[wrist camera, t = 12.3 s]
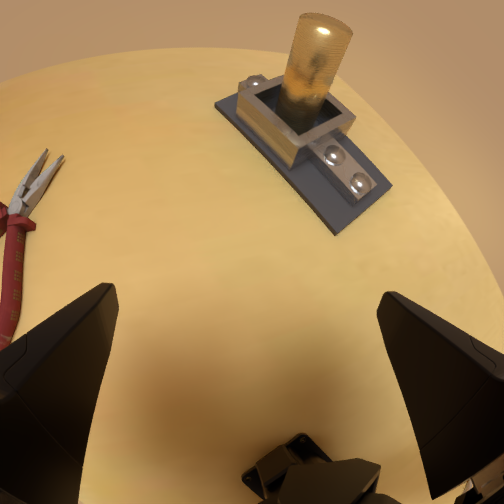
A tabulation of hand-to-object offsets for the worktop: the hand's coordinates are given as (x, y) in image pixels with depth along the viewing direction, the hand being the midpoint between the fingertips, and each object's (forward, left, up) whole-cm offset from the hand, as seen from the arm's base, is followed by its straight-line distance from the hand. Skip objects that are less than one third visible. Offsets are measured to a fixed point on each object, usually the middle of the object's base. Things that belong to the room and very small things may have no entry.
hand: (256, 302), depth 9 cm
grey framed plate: (+10, -16, -13) cm, 23 cm away
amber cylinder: (+11, -16, -13) cm, 24 cm away
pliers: (+17, +14, -14) cm, 27 cm away
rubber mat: (+9, -16, -14) cm, 23 cm away
